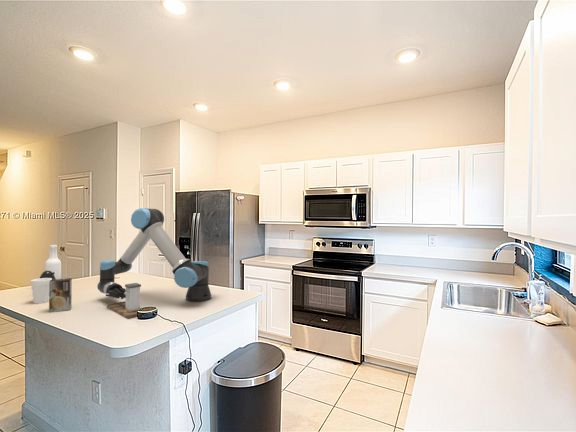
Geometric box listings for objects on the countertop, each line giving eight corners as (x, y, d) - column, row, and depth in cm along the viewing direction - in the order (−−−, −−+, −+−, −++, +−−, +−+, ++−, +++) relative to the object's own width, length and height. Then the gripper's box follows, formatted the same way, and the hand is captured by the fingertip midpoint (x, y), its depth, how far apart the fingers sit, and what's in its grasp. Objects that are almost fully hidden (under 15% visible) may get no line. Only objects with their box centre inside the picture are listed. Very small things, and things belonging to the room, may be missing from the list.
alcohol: (53, 290, 201) (54, 245, 201) (40, 290, 201) (41, 245, 202) (64, 287, 210) (64, 244, 210) (51, 287, 210) (52, 244, 210)
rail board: (106, 307, 166) (106, 304, 166) (126, 303, 174) (126, 300, 174) (127, 319, 148) (128, 315, 148) (148, 314, 156) (148, 311, 156)
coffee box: (72, 307, 166) (72, 277, 166) (70, 310, 161) (70, 279, 161) (51, 309, 162) (51, 279, 162) (48, 312, 156) (48, 281, 156)
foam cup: (26, 303, 172) (27, 280, 173) (44, 299, 181) (45, 277, 181) (37, 305, 169) (37, 281, 169) (55, 301, 177) (55, 278, 178)
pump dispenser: (45, 297, 186) (46, 272, 186) (32, 296, 188) (32, 271, 188) (61, 293, 196) (61, 269, 196) (48, 292, 198) (48, 268, 198)
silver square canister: (124, 310, 156) (125, 284, 156) (135, 307, 160) (136, 282, 161) (129, 312, 153) (129, 286, 153) (140, 310, 157) (140, 284, 157)
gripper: (125, 294, 179) (143, 301, 163) (100, 298, 169) (116, 306, 153) (125, 281, 179) (143, 287, 163) (100, 284, 169) (117, 292, 153)
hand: (130, 297), depth 158 cm, fingers closed
